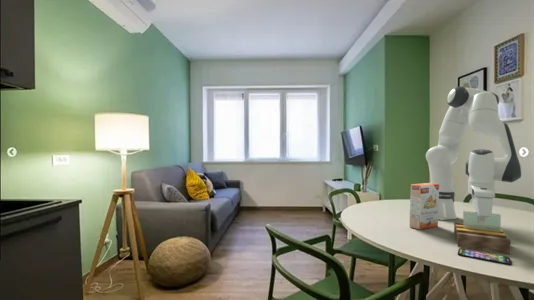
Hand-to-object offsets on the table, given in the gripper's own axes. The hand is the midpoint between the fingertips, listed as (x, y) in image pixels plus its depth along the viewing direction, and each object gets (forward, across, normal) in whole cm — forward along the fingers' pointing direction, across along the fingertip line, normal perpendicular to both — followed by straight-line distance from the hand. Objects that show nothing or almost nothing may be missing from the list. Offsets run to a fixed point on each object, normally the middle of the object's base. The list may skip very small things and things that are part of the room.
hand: (480, 223), depth 118 cm
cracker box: (+8, -14, -20) cm, 26 cm away
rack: (+8, 0, 0) cm, 8 cm away
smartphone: (+8, +18, -2) cm, 20 cm away
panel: (+5, 0, 0) cm, 5 cm away
